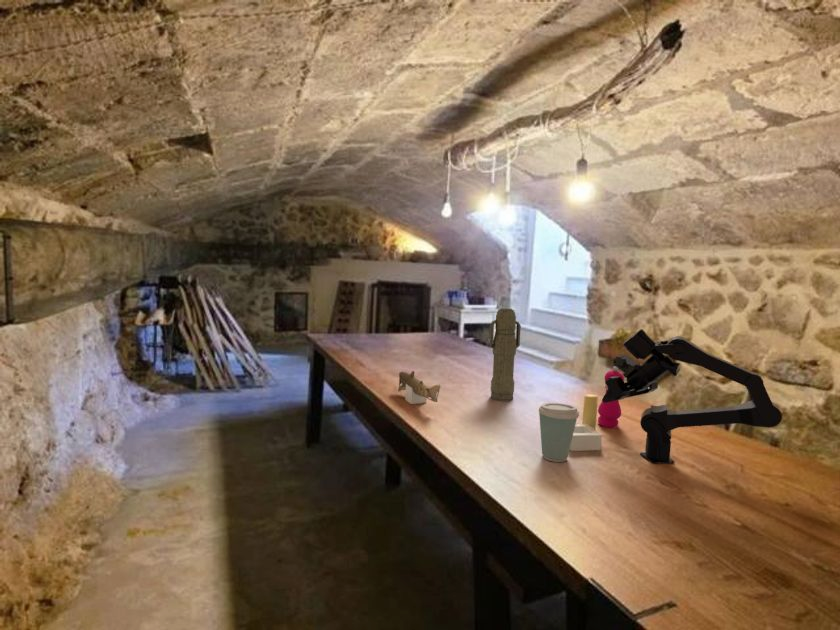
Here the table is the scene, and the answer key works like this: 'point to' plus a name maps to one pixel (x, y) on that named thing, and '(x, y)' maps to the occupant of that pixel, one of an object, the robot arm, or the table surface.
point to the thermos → (504, 353)
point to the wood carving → (416, 389)
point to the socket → (585, 438)
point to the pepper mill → (610, 405)
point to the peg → (590, 410)
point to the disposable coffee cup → (557, 430)
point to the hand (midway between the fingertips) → (612, 399)
